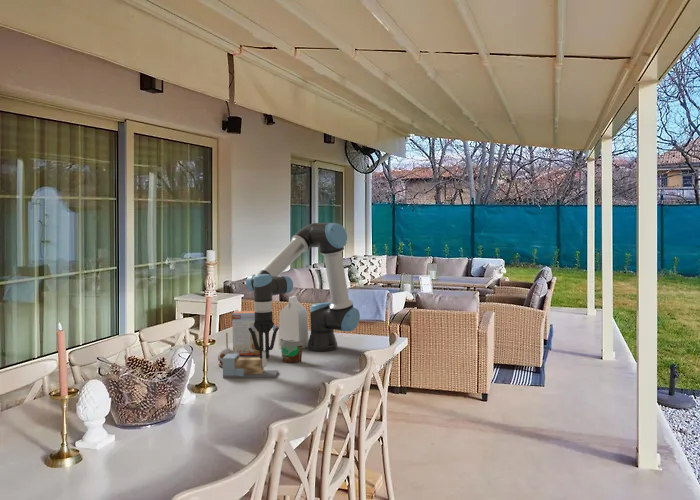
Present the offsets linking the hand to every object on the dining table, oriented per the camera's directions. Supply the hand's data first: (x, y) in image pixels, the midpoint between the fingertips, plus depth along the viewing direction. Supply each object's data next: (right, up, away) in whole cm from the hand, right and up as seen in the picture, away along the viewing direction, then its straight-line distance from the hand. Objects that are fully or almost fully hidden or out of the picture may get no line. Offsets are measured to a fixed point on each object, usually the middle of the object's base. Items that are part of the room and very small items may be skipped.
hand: (264, 366), depth 259 cm
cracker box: (-13, -2, +39) cm, 41 cm away
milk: (+7, -1, +54) cm, 55 cm away
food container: (+8, -3, +23) cm, 25 cm away
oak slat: (-8, -3, +1) cm, 8 cm away
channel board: (-6, -4, +1) cm, 7 cm away
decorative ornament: (-19, -3, +17) cm, 26 cm away
